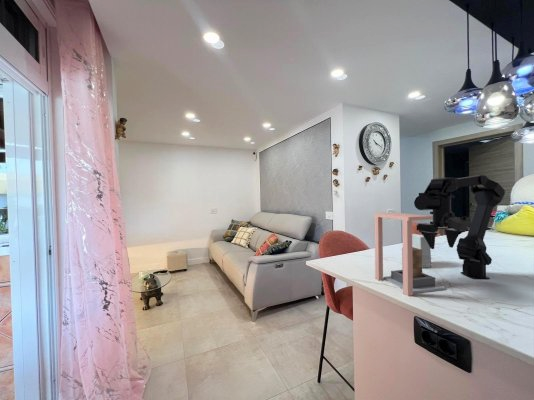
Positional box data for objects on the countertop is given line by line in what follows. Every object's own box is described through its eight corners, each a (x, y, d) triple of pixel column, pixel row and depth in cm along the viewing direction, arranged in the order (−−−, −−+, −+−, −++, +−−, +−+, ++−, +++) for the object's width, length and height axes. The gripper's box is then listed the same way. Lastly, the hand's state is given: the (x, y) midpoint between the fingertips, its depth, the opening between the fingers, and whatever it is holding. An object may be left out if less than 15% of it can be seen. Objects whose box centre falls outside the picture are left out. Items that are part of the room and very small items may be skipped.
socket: (411, 275, 91) (411, 266, 91) (445, 289, 77) (445, 279, 77) (383, 278, 88) (383, 269, 88) (412, 293, 75) (412, 283, 74)
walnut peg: (412, 279, 85) (411, 246, 85) (422, 283, 81) (422, 249, 81) (402, 280, 85) (402, 247, 84) (412, 284, 80) (412, 250, 80)
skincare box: (431, 267, 101) (431, 236, 101) (421, 268, 100) (421, 236, 99) (415, 262, 109) (415, 233, 109) (405, 263, 108) (405, 233, 107)
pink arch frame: (395, 275, 91) (394, 212, 91) (433, 293, 74) (432, 216, 74) (374, 278, 89) (373, 213, 89) (409, 296, 72) (408, 217, 72)
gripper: (442, 211, 75) (443, 255, 76) (483, 209, 79) (483, 251, 79) (415, 209, 86) (415, 247, 87) (452, 208, 90) (452, 245, 90)
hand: (441, 248), depth 85 cm, fingers open, 9 cm apart
